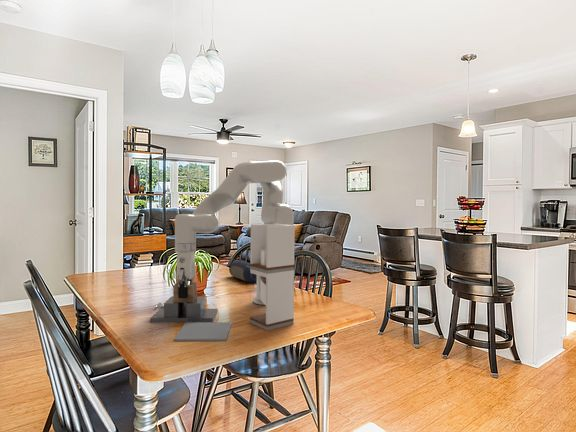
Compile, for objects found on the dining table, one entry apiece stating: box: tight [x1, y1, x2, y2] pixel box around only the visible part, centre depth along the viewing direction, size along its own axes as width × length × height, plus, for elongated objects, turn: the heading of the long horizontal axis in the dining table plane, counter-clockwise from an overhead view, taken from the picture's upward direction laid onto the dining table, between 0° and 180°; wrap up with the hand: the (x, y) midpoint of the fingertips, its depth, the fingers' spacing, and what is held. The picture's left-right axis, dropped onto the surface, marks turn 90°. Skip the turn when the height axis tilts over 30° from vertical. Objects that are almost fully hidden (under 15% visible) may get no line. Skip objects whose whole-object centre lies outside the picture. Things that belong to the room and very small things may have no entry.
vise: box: [149, 280, 219, 323], centre depth 139 cm, size 22×12×14 cm, turn 92°
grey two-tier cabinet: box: [249, 223, 296, 331], centre depth 133 cm, size 11×11×35 cm
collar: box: [172, 281, 198, 302], centre depth 139 cm, size 7×7×6 cm
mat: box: [173, 321, 233, 342], centre depth 124 cm, size 16×16×1 cm
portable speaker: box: [228, 259, 257, 284], centre depth 207 cm, size 25×10×10 cm, turn 35°
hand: (185, 295), depth 139 cm, fingers closed on collar, 7 cm apart
